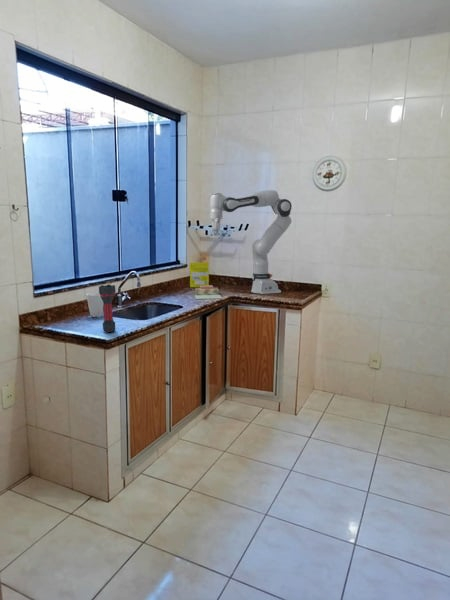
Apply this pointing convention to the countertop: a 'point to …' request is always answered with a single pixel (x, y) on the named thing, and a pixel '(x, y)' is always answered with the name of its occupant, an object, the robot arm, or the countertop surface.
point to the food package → (199, 274)
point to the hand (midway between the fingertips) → (216, 235)
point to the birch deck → (206, 291)
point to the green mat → (208, 297)
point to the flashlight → (107, 306)
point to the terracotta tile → (206, 287)
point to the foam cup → (95, 304)
